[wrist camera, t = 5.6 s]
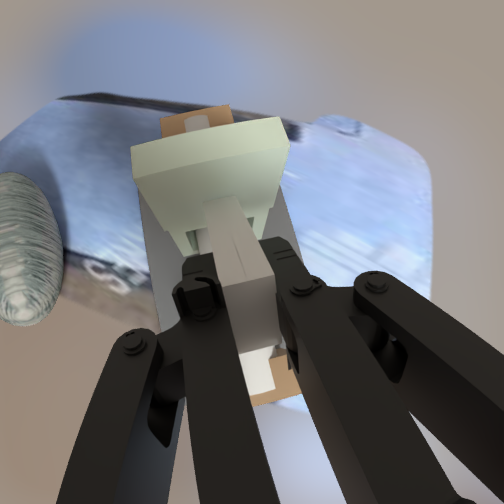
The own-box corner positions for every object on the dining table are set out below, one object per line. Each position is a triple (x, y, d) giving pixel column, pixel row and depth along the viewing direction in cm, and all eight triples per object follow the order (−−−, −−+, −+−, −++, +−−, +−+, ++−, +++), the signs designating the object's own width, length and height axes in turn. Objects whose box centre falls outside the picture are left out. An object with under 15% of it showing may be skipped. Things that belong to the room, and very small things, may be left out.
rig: (183, 402, 23) (159, 430, 15) (140, 179, 28) (111, 125, 20) (326, 366, 25) (367, 377, 16) (264, 152, 30) (275, 91, 21)
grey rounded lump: (-27, 205, 23) (-52, 168, 15) (49, 185, 29) (49, 141, 21) (-2, 334, 23) (-26, 344, 15) (77, 309, 29) (83, 310, 21)
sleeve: (180, 257, 22) (132, 178, 11) (171, 206, 23) (128, 102, 12) (264, 238, 23) (290, 145, 12) (250, 188, 24) (262, 76, 13)
